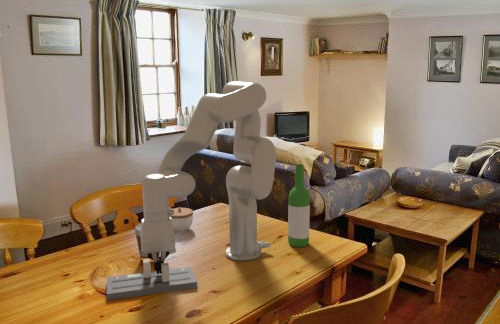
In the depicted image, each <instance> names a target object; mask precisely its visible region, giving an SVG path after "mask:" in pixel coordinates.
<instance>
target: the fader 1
mask: <svg viewBox="0 0 500 324" xmlns="http://www.w3.org/2000/svg"><path fill="white" fill-rule="evenodd" d="M142 263H143V264H142V265H143V273H144V278H149V277H151V272H152V270H151V269H152V268H151V263H150V259H144V260H143V262H142Z"/></svg>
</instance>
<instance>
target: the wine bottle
mask: <svg viewBox="0 0 500 324" xmlns="http://www.w3.org/2000/svg"><path fill="white" fill-rule="evenodd" d="M304 167H305V165H304V164H295V174H294V175H295V177H294V182H295V183H294V187H293V188H292V189H290V191H289V194H288V210H287V211H288V214H287V215H288V217H287V218H288V222H287V240H288V244H289V245H290V246H292V247H295V248H303V247H306V246H308V245H309V242H310V221H311V220H310V217H311V216H310V215H311V205H310V203H311V196H310V192H309V191H308V189H307V188H306V187H305V186H304V185H305V183H304V180H305V179H304V177H305V175H304V174H305V170H304V169H305V168H304Z"/></svg>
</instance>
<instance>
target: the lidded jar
mask: <svg viewBox="0 0 500 324" xmlns="http://www.w3.org/2000/svg"><path fill="white" fill-rule="evenodd" d="M169 209H170V210H174V214H173V215H170V217H171V218H172V221H173V228H174V233H185V232H187V231H188V230H189V229H190V228H191V226H192V224H193V220H194V211H193V209H191V208H190V207H189V208H188V207H175V208H169Z"/></svg>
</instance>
